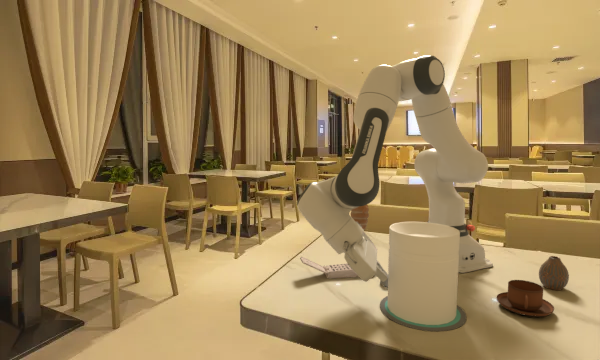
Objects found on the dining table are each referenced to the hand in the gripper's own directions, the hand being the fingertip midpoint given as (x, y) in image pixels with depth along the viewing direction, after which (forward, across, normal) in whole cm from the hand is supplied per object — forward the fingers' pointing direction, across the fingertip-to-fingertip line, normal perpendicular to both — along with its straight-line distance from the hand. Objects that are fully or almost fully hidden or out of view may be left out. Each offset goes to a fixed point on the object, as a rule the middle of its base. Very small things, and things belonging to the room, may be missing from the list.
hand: (385, 278), depth 88 cm
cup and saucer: (+29, +6, -18) cm, 35 cm away
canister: (+11, 0, -1) cm, 11 cm away
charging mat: (+10, +4, 0) cm, 11 cm away
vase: (+38, +23, -28) cm, 52 cm away
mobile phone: (-4, +19, +15) cm, 25 cm away
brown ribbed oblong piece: (-2, +68, +13) cm, 69 cm away
